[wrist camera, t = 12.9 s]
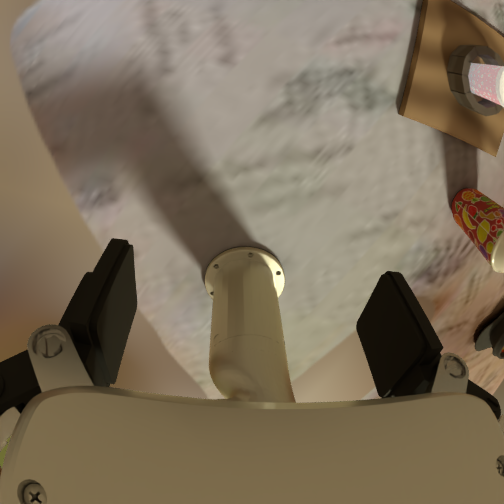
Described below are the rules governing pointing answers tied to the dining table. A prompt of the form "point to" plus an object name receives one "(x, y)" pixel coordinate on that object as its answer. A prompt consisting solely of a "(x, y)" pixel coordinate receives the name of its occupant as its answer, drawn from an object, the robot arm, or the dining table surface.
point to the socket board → (434, 77)
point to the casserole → (493, 337)
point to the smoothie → (481, 224)
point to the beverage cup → (487, 82)
